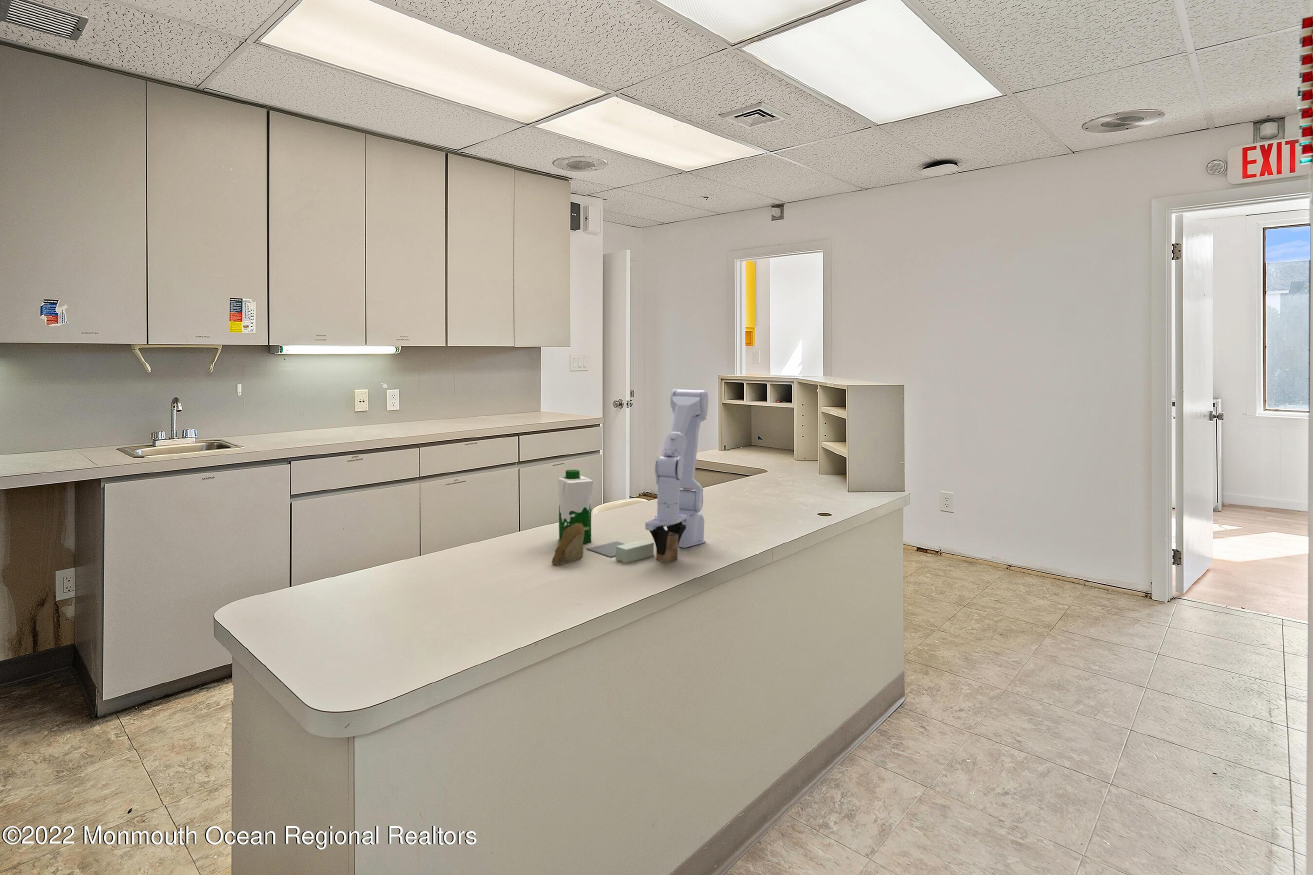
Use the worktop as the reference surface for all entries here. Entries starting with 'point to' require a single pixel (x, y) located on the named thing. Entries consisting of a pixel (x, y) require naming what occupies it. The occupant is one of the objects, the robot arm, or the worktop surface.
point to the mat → (606, 549)
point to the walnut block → (669, 549)
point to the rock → (570, 545)
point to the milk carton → (575, 502)
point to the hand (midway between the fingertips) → (667, 552)
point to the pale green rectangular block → (634, 551)
